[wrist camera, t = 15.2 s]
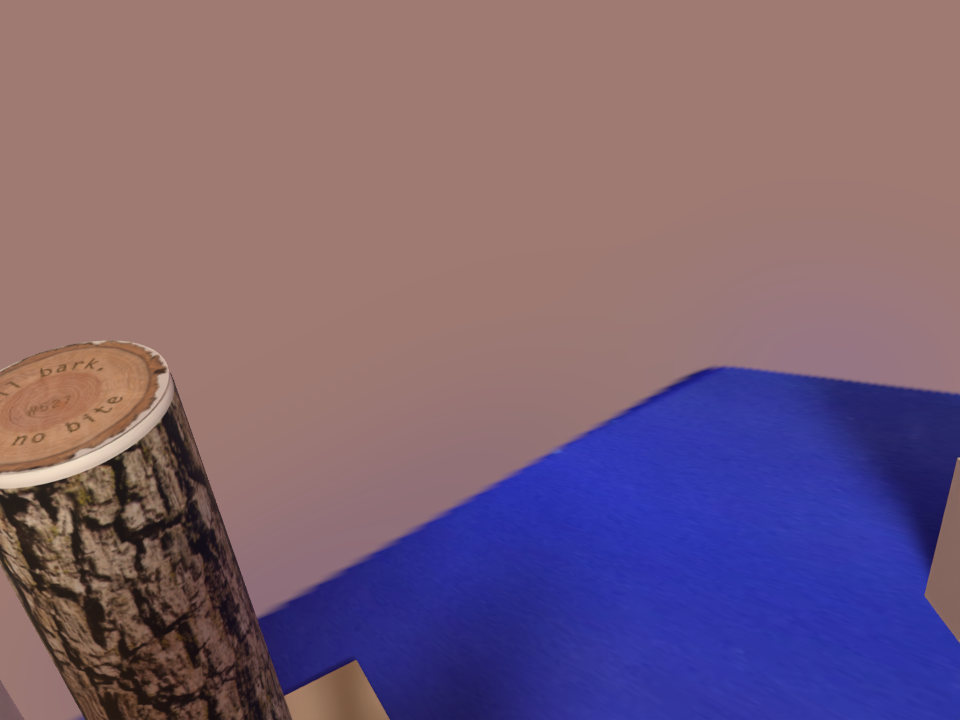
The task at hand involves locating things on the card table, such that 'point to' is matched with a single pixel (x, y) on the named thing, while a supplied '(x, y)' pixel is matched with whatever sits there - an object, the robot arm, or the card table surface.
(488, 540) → the card table surface
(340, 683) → the seat board
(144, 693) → the paper tube
